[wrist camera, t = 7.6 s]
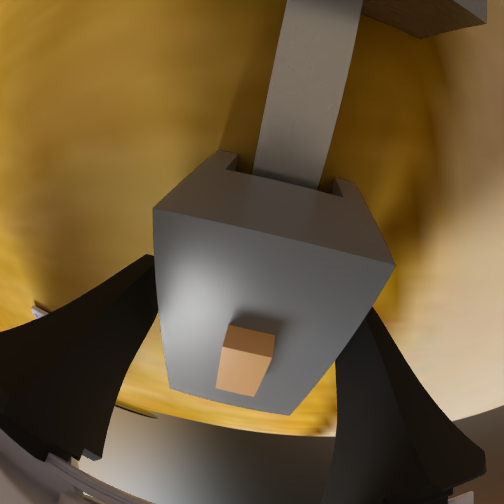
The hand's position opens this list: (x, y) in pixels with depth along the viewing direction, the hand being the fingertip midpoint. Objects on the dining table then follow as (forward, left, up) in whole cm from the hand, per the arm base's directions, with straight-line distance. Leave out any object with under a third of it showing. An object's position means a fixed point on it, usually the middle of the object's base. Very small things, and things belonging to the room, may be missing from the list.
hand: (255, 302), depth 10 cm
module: (0, 0, -2) cm, 3 cm away
